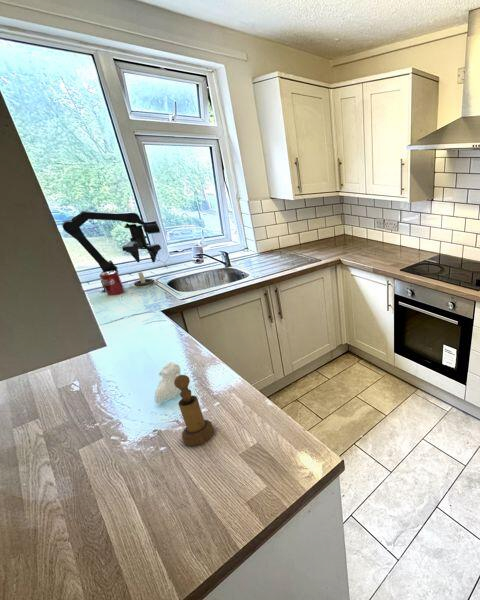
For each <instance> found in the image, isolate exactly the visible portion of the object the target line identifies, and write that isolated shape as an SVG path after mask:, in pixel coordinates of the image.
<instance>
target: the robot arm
mask: <svg viewBox="0 0 480 600" xmlns="http://www.w3.org/2000/svg"><path fill="white" fill-rule="evenodd" d="M88 220H99V221H100V220H101V221H119V222H123V223H125V225H124V226H123V228H125V229H129V232H130V236H131V237H130V238H129V242H127V243H126V244H124V245H122V247H121V249H122V251H123V252H125V253H128V254H129V255H131V256H132V257H133V258H134V260H135V262H137V263H140V251H139V250H146V251H147V254H149V257H150V260H151V261H152V263H153V264H154V263H155V262H156V259H157V256H158V253H159V251H160V250H162V246H161V244H157V243H152V244H150V243H149V242H147V240H146V239H147V238H148V237H147V235H152V234H160V233H161V230H160V227H159V225H158V222H157V221H156V220H151V221H144V220H142V219H141V218H140V216H139V214H138V213H136V212H133V211H123V212H105V211H103V212H102V211H89V210H88V211H87V210H82V211H80V212H79V213H78V214H77V215H76V216H73V217H72V218H71V219H69V220H68V219H67V220H64V221H63V222H62V224H61V226H62V229H63V231H64V232H66V233H67V234H68V235H70V237H72V238H73V239H75V240H76V241H77V242H78V243H79V244H80V245H81V246H82V248H83V249H84V250H85V251H86V252H87V253H88V254H89V255H90V256H91V257H92V258H93V259H94V260H95V262H96V263H97V264H98V266H99V267H100V269H101V270H102V272H101V273H104V272H108V271H117V272H118V273H119V270H118V269H119V267H118V266H117V265H116V264H115V263H114V262H113V261H112V260H111V259H110V260H107V259H106V258H105V257H104V256H103V255H102V254H101V252H100V251H99V250H98V249H97V248H96V247H95V246H94V245H93V244H92V242H91V241H89V239H88V238H87V237H86V236H85V234H84V233H83V231H82V229H81V228H80V227H81V226H83V225H84V224H85V223H87V221H88ZM145 233H146V234H147V235H145ZM101 273H100V274H99V276H98V277H99V278H100V283H101V285H102V288H103V290H101V293H106V290H105V287H104V285H103V282H102V279H101V277H100V275H101Z"/></svg>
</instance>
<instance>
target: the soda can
mask: <svg viewBox="0 0 480 600" xmlns="http://www.w3.org/2000/svg"><path fill="white" fill-rule="evenodd" d="M100 274H101V275H100ZM100 274H99V275H100V276H99V278H100V277H101V278H100V280H102V282H103V285H104V287H105V290H106V292H105V293H106V296H117V295H122V294H124V293H125V292H126V291H125V287H124V285H123V283H122V279H121V277H120V274H119V271H118V272H117V271H108V272H104V273H102V272H101V273H100ZM103 285H102V286H103Z"/></svg>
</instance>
